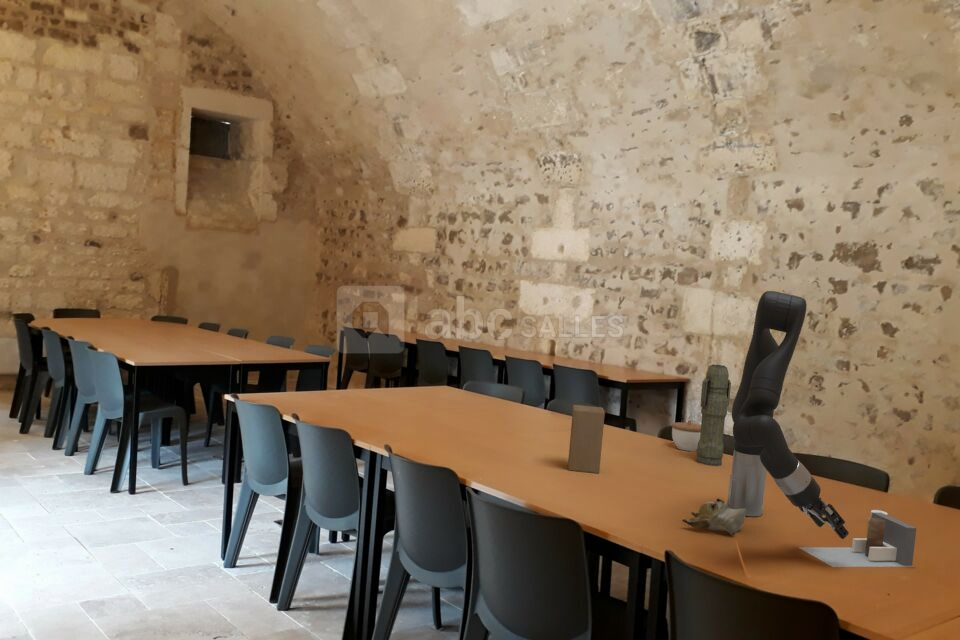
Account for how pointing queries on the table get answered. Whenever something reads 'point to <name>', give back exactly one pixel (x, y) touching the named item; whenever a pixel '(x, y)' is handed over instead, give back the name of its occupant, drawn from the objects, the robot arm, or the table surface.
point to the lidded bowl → (686, 435)
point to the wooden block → (586, 439)
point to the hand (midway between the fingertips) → (833, 530)
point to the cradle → (875, 550)
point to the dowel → (875, 534)
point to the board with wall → (845, 557)
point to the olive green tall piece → (713, 415)
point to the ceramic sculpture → (717, 517)
